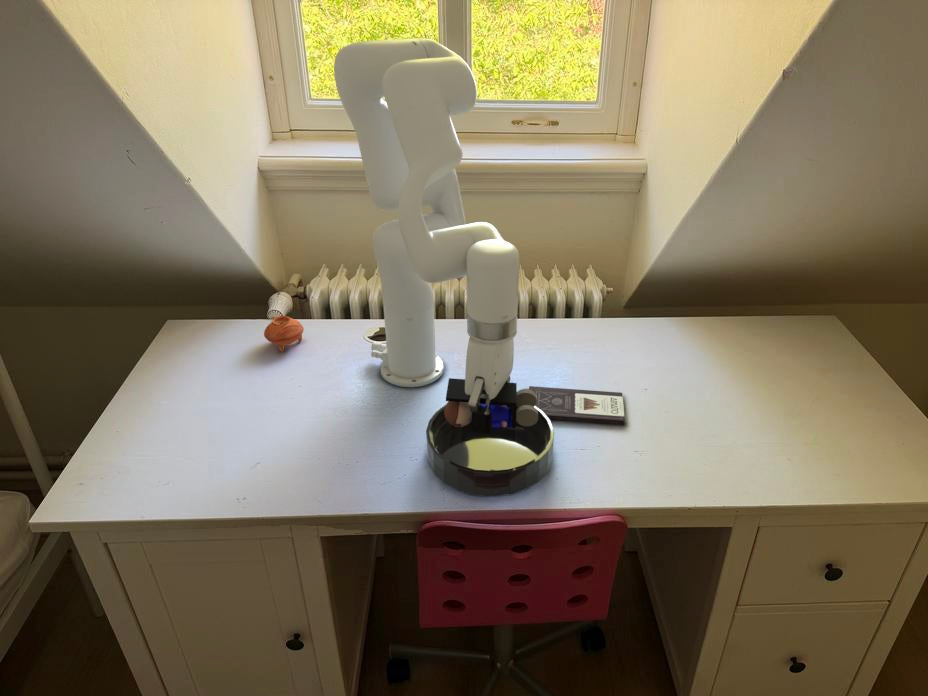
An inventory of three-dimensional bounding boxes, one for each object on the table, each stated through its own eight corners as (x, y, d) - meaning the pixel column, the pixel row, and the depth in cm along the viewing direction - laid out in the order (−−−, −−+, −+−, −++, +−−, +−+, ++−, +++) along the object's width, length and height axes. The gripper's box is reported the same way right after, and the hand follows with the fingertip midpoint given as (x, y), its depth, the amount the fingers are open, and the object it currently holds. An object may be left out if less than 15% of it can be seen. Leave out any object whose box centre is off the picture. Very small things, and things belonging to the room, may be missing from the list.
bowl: (406, 479, 113) (404, 453, 110) (457, 408, 129) (456, 383, 126) (529, 513, 107) (531, 486, 104) (566, 434, 124) (568, 409, 121)
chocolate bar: (529, 386, 134) (622, 392, 133) (529, 390, 135) (621, 396, 134) (526, 413, 127) (624, 420, 126) (526, 417, 127) (624, 424, 126)
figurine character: (531, 419, 118) (444, 409, 117) (539, 383, 114) (448, 372, 112) (533, 444, 112) (441, 434, 111) (541, 406, 108) (445, 396, 107)
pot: (304, 353, 143) (292, 325, 139) (269, 360, 144) (255, 333, 140) (312, 332, 149) (300, 306, 145) (278, 339, 150) (265, 313, 146)
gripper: (489, 294, 111) (488, 384, 121) (445, 345, 98) (448, 442, 108) (533, 302, 110) (529, 393, 119) (495, 356, 96) (493, 454, 106)
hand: (490, 416), depth 113 cm, fingers closed on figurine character, 7 cm apart
